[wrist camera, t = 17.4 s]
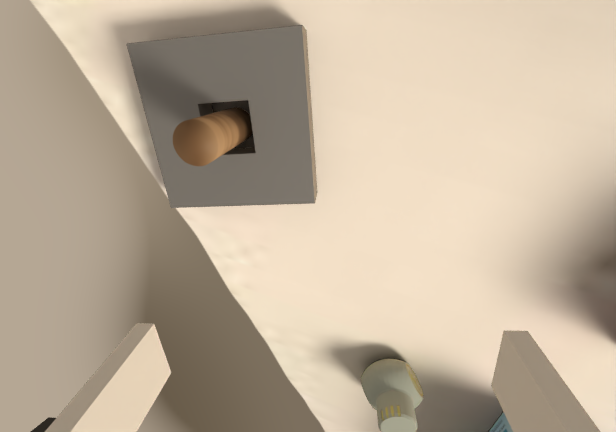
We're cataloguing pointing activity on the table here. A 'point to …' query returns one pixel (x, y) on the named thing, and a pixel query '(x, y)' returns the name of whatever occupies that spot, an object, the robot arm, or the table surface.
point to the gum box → (501, 425)
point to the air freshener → (393, 394)
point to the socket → (224, 88)
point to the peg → (211, 135)
